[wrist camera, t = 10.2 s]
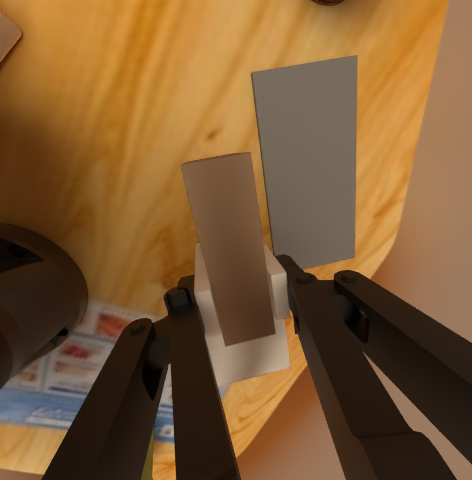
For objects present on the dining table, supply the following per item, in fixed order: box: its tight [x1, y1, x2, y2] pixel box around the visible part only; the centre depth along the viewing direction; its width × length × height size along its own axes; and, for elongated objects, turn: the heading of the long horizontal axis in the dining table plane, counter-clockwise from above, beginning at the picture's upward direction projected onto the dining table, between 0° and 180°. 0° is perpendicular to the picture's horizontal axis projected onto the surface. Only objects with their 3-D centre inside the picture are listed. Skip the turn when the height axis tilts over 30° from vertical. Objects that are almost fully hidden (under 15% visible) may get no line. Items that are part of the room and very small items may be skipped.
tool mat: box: [251, 55, 357, 269], centre depth 25 cm, size 10×21×1 cm, turn 10°
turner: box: [181, 152, 290, 387], centre depth 16 cm, size 7×20×6 cm, turn 10°
